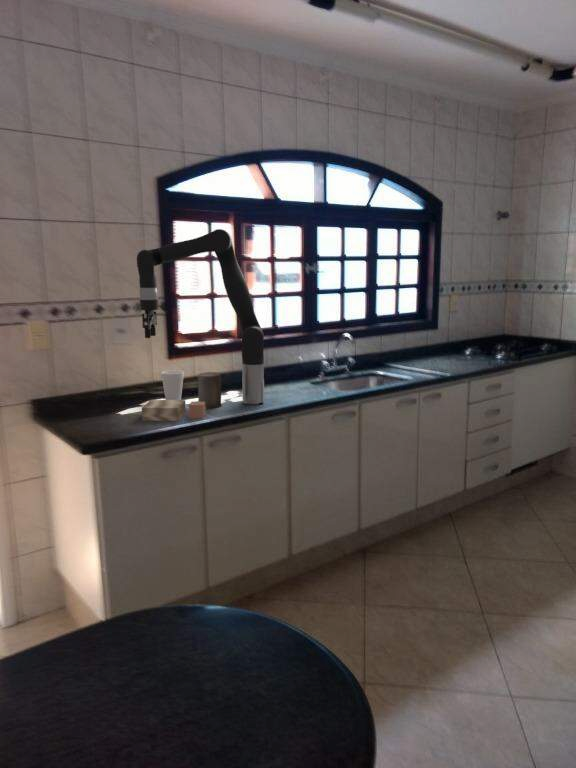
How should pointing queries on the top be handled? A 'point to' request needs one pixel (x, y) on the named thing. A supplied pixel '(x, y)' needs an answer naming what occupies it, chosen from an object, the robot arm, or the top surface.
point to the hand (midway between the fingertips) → (150, 336)
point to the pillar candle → (209, 389)
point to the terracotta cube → (197, 410)
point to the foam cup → (172, 384)
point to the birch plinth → (163, 410)
